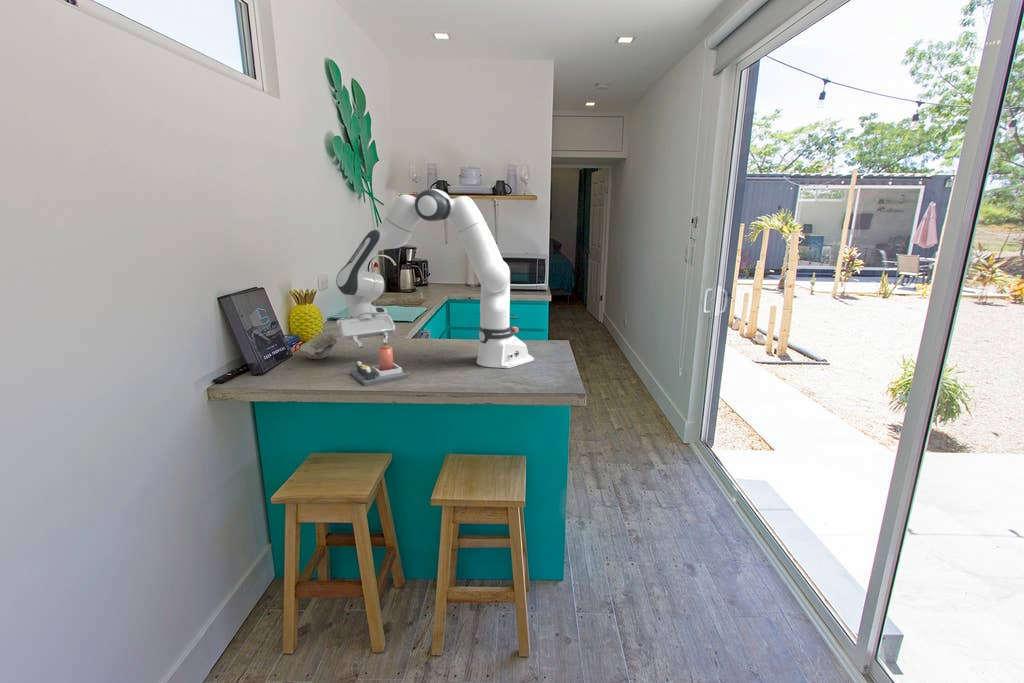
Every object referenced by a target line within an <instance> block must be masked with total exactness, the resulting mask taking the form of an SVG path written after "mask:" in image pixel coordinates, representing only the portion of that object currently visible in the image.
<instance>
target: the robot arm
mask: <svg viewBox="0 0 1024 683" xmlns="http://www.w3.org/2000/svg"><path fill="white" fill-rule="evenodd" d="M421 220H424V221H427V222H440V221H443V220H447V221H449V222H450V223H451V224H452V226H453V228H454V230H455V232H456V233H457V236H458V239H459V240H460V242H461V244H462V246H463V248H464V250H465V252H466V254H467V256H468V259H469V261H470V264H471V267H472V268H473V271H474V273H475V276H476V278H477V280H478V283H479V284H480V302H479V303H480V304H479V305H480V306H479V312H480V313H479V314H480V315H479V316H480V318H479V321H480V325H479V327H478V330H479V331H478V332H479V333H478V336H479V349H478V354H477V359H476V364H477V365H479V366H481V367H485V368H499V369H500V368H502V369H510V368H515V367H517V366H521V365H524V364H527V363H532V362H533V361H534V357H533V355H531V354H529V352H528V350H529V349H528V346H527V344H526V343H525V342H524V341H522V340H521V339H519V338H518V337H517V336H516V335H514V333H516V334H517V333H518V332H519V328H518V327H516V326H511V325H510V320H511V319H510V317H511V314H510V313H511V311H510V306H511V305H510V304H511V303H510V302H511V299H510V298H511V268H510V267H509V265H508V264H507V262H506V261H504V259H503V257H502V255H501V252H500V250H499V248H498V245H497V243H496V240H495V239H494V236H493V234H492V232H491V230H490V228H489V227H488V224H487V222H486V220H485V219H484V216H483V214H482V212H481V211H480V209H479V207H478V206H477V205H476V203H475V202H474V200H473V199H472V198H471V197H469V196H467V195H460V196H457V197H455V198H452V197H451V195H450V194H449V193H448V192H446V191H445V190H441V189H439V188H438V189H437V188H430V189H425V190H422V191H421V192H419V193H418V195H417V196H416V197H415V196H413V195H411V194H405V193H404V194H400V195H399V196H398V197H397V198H396V199H395V201H394V202H393V203H392V205H391V206H390V208H389V210H388V212H387V213H386V215H385V218H384V219H383V221H382V222H381V223H380V224H379V225H378V226H377V227H376V228H375V229H373V230H370V231H369V232H368V233H367V234H366V235H365V237H364V238H363V239H362V241H361V242H360V244H359V245H358V247H357V248H356V250H355V251H354V253H353V254H352V256H351V257H350V259H349V260H348V262H347V263H346V264H345V265H344V266H343V267H342V268H341V269H340V270H339V271H338V273H337V275H336V278H335V282H336V286H337V289H338V290H339V292H341V294H343V297H344V300H345V303H346V305H347V306H348V312H349V316H347V317H340V318H338V319H337V320H336V326H337V327H338V329H339V333H340V334H339V335H340V339H341V340H343V341H344V342H345V341H352V343H354V344H355V346H357V349H358V350H359V349H363V348H364V344H363V342H361V341H360V340H361V339H368V338H369V339H370V338H376V337H383V339H382V341H381V344H382V346H383V345H388V343H389V342H388V336H391V335H393V334H394V333H395V331H396V325H395V322H394V320H393V319H392V316H390V315H389V314H388V310H387V308H386V307H380V306H377V305H375V306H374V305H373V304H372V302H375V301H377V300H378V299H379V298H380V297H381V296H382V295H383V294H384V293H385V291H386V281H385V278H384V276H382V274H379V273H376V272H374V271H373V272H372V271H367V270H364V268H365V267H366V265H367V263H368V262H369V261H370V259H371V258H372V256H373V255H374V254H376V253H378V252H381V251H384V250H385V251H386V250H391V249H392V250H393V249H400V248H401V247H404V246H406V244H407V243H408V242H409V241H410V239H411V238H412V237H413V234H414V232H415V229H416V228H417V225H418V224H419V222H420V221H421Z"/></svg>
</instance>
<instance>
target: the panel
mask: <svg viewBox="0 0 1024 683" xmlns="http://www.w3.org/2000/svg"><path fill="white" fill-rule="evenodd" d="M355 366H356V369H353V370H350V375H351V374H352V375H353V376H352V375H351V376H352V377H354V378H355V379H356V380H357V381H358V382H360V383H361V384H362V385H363V386H364V387H368V386H371V385H377V384H382V383H388V382H393V381H399V380H403V379H408V374H407V373H406V372H404V371H403V367H401V366H399V365H397V364H396V363H395V362H393V369H392V370H386V371H380V364H376V365H371V367H370V366H369V365H366V364H365V363H363V362H361V361H357V364H356V365H355Z"/></svg>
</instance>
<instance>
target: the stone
mask: <svg viewBox="0 0 1024 683" xmlns="http://www.w3.org/2000/svg"><path fill="white" fill-rule="evenodd" d="M337 342H338V340H337V338H336V337H335V335H334V334H333V333H332V332H330V331H325V332H318V334H317V335H315V336H314V337H312V338H311V339H309V340H308V341H306V342H304V343H302V344H301V345H300V347H299V349H300V351H301V352H303V353H305V354H306V356H307V358H309V359H310V360H311V359H313V360H322V358H323V359H325V358H326V357H327V356H329V355H330V354H331V352H332V349H333V347H334V346H335V344H337ZM324 357H325V358H324Z"/></svg>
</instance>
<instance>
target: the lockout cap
mask: <svg viewBox="0 0 1024 683" xmlns="http://www.w3.org/2000/svg"><path fill="white" fill-rule="evenodd" d="M393 352H394V351H393V347H392V346H391V345H388V344H387V345H383V344H382V345H381V346H380V347H378V355H379V356H378V358H379V365H380V371H386V370H392V369H393V363H394V354H393Z"/></svg>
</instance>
